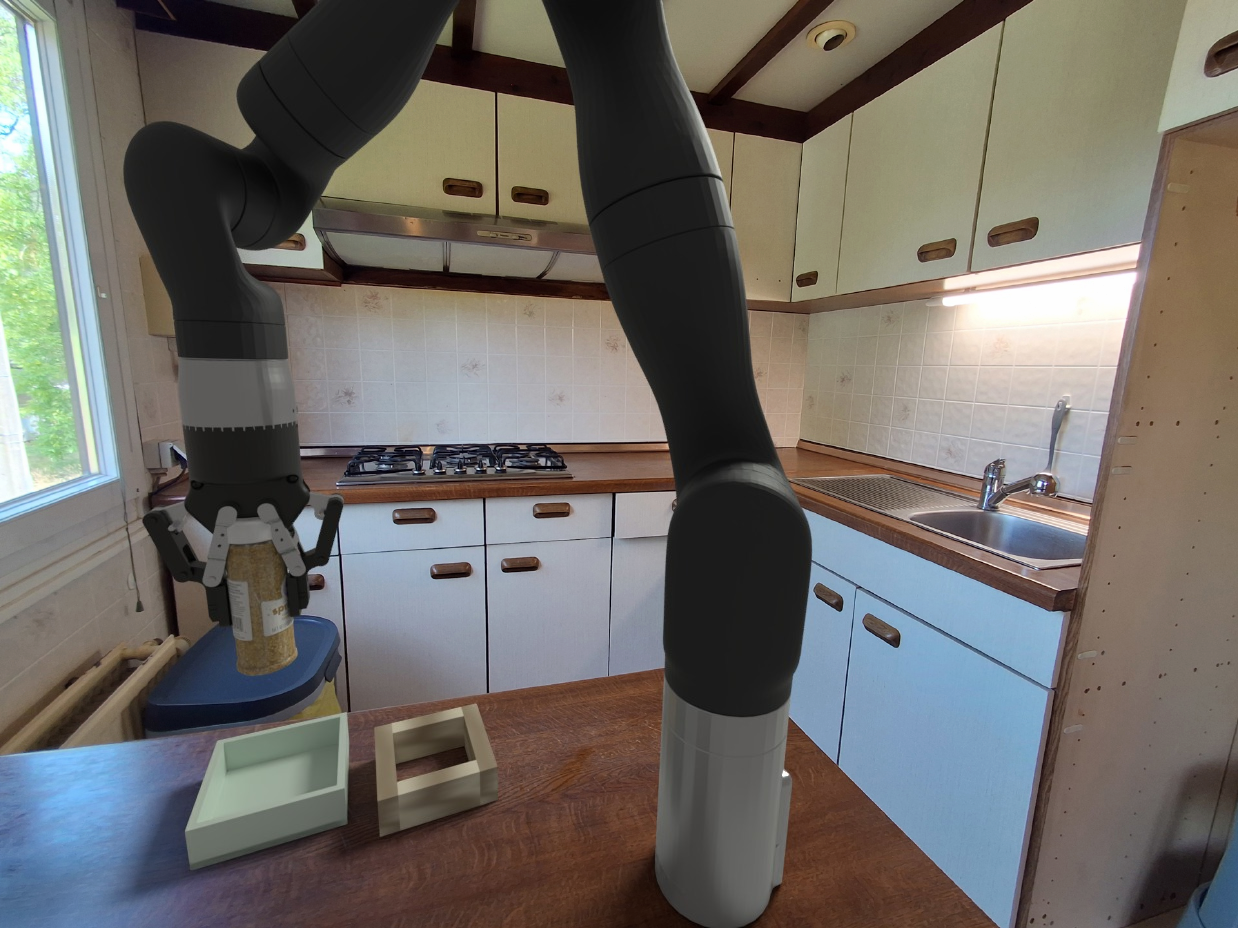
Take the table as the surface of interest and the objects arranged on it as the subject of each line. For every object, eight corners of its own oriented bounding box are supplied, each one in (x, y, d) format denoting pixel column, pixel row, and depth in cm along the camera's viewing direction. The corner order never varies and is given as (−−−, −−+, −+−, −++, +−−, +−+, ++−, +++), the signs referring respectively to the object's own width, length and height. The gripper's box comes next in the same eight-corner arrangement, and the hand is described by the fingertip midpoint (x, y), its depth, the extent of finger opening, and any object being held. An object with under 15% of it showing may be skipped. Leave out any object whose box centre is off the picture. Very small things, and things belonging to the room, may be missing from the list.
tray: (349, 742, 57) (346, 711, 56) (347, 823, 47) (344, 787, 47) (221, 773, 53) (217, 740, 52) (190, 870, 43) (184, 831, 42)
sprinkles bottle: (300, 668, 47) (285, 516, 44) (235, 684, 44) (216, 524, 42) (296, 644, 50) (283, 503, 48) (236, 657, 48) (218, 509, 45)
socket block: (477, 732, 59) (476, 703, 59) (498, 799, 50) (497, 766, 50) (376, 758, 55) (374, 727, 54) (379, 836, 46) (377, 801, 46)
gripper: (104, 425, 37) (140, 657, 40) (341, 420, 43) (356, 622, 46) (143, 414, 44) (171, 613, 47) (344, 411, 50) (356, 588, 53)
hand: (263, 617), depth 47 cm, fingers closed on sprinkles bottle, 4 cm apart
